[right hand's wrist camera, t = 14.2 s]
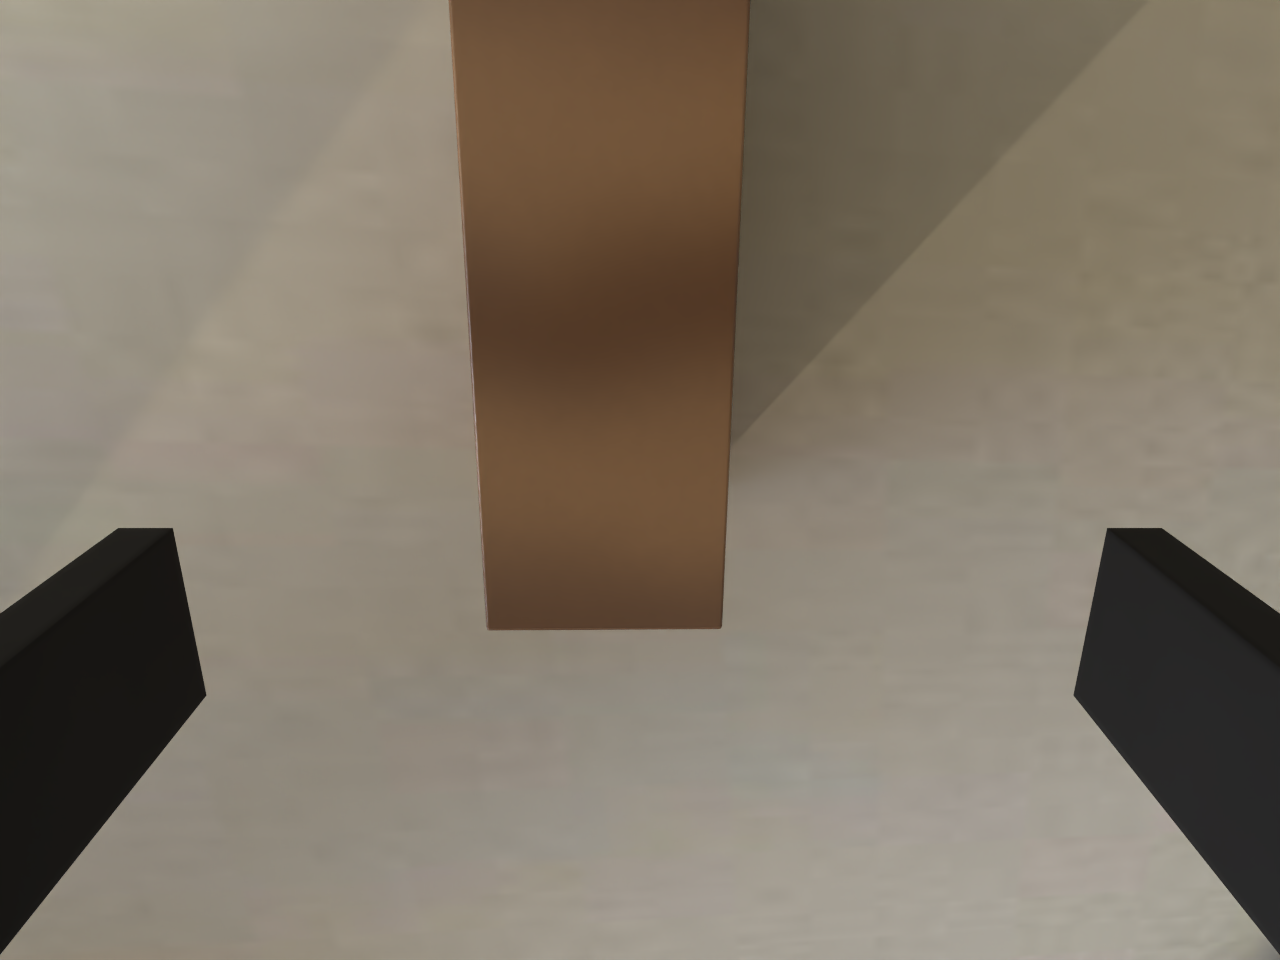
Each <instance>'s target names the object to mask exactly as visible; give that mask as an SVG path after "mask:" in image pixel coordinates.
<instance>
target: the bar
mask: <svg viewBox="0 0 1280 960" xmlns="http://www.w3.org/2000/svg"><path fill="white" fill-rule="evenodd" d="M449 13H450V29H451V46H452V63H453V79H454V96H455V112H456V129H457V146H458V162H459V179H460V195H461V212H462V229H463V245H464V262H465V278H466V295H467V312H468V328H469V345H470V361H471V378H472V395H473V411H474V428H475V444H476V461H477V478H478V494H479V511H480V527H481V544H482V560H483V577H484V594H485V610H486V627H487V629H488V630H615V629H720V628H721V627H722V615H723V593H724V571H725V548H726V526H727V504H728V482H729V460H730V438H731V416H732V394H733V372H734V350H735V328H736V306H737V284H738V262H739V240H740V218H741V196H742V174H743V152H744V130H745V108H746V86H747V64H748V42H749V20H750V0H449Z"/></svg>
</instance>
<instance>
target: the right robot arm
mask: <svg viewBox="0 0 1280 960" xmlns="http://www.w3.org/2000/svg"><path fill="white" fill-rule="evenodd" d="M205 697H206V691H205V686H204V681H203V676H202V671H201V666H200V661H199V656H198V651H197V646H196V641H195V636H194V631H193V626H192V621H191V616H190V611H189V607H188V602H187V597H186V592H185V587H184V582H183V577H182V572H181V567H180V562H179V557H178V552H177V547H176V542H175V537H174V532H173V528H118V529H116V530H115V531H114V532H112V533H111V534H109V535H108V536H107V537H105V538H104V539H103V540H101V541H100V542H98V543H97V544H96V545H94V546H93V547H92V548H90V549H89V550H87V551H86V552H85V553H83V554H82V555H80V556H79V557H78V558H76V559H75V560H74V561H72V562H71V563H69V564H68V565H67V566H65V567H64V568H63V569H61V570H60V571H58V572H57V573H56V574H54V575H53V576H51V577H50V578H49V579H47V580H46V581H45V582H43V583H42V584H40V585H39V586H38V587H36V588H35V589H34V590H32V591H31V592H29V593H28V594H27V595H25V596H24V597H22V598H21V599H20V600H18V601H17V602H16V603H14V604H13V605H11V606H10V607H9V608H7V609H6V610H5V611H3V612H2V613H0V954H1V953H2V952H3V950H4V949H5V948H6V947H7V945H8V944H9V943H10V942H11V940H12V939H13V938H14V937H15V935H16V934H17V933H18V932H19V930H20V929H21V928H22V927H23V925H24V924H25V923H26V922H27V920H28V919H29V918H30V917H31V915H32V914H33V913H34V912H35V910H36V909H37V908H38V906H39V905H40V904H41V903H42V901H43V900H44V899H45V898H46V896H47V895H48V894H49V893H50V891H51V890H52V889H53V888H54V886H55V885H56V884H57V883H58V881H59V880H60V879H61V878H62V876H63V875H64V874H65V873H66V871H67V870H68V869H69V867H70V866H71V865H72V864H73V862H74V861H75V860H76V859H77V857H78V856H79V855H80V854H81V852H82V851H83V850H84V849H85V847H86V846H87V845H88V844H89V842H90V841H91V840H92V839H93V837H94V836H95V835H96V834H97V832H98V831H99V830H100V829H101V827H102V826H103V825H104V823H105V822H106V821H107V820H108V818H109V817H110V816H111V815H112V813H113V812H114V811H115V810H116V808H117V807H118V806H119V805H120V803H121V802H122V801H123V800H124V798H125V797H126V796H127V795H128V793H129V792H130V791H131V790H132V788H133V787H134V786H135V785H136V783H137V782H138V781H139V779H140V778H141V777H142V776H143V774H144V773H145V772H146V771H147V769H148V768H149V767H150V766H151V764H152V763H153V762H154V761H155V759H156V758H157V757H158V756H159V754H160V753H161V752H162V751H163V749H164V748H165V747H166V746H167V744H168V743H169V742H170V741H171V739H172V738H173V737H174V735H175V734H176V733H177V732H178V730H179V729H180V728H181V727H182V725H183V724H184V723H185V722H186V720H187V719H188V718H189V717H190V715H191V714H192V713H193V712H194V710H195V709H196V708H197V707H198V705H199V704H200V703H201V702H202V700H203V699H204V698H205ZM1074 697H1075V698H1076V699H1077V700H1078V702H1079V703H1080V704H1081V705H1082V707H1083V708H1084V709H1085V710H1086V712H1087V713H1088V714H1089V715H1090V717H1091V718H1092V719H1093V720H1094V722H1095V723H1096V724H1097V725H1098V727H1099V728H1100V729H1101V730H1102V732H1103V733H1104V734H1105V735H1106V737H1107V738H1108V739H1109V741H1110V742H1111V743H1112V744H1113V746H1114V747H1115V748H1116V749H1117V751H1118V752H1119V753H1120V754H1121V756H1122V757H1123V758H1124V759H1125V761H1126V762H1127V763H1128V764H1129V766H1130V767H1131V768H1132V769H1133V771H1134V772H1135V773H1136V774H1137V776H1138V777H1139V778H1140V779H1141V781H1142V782H1143V783H1144V785H1145V786H1146V787H1147V788H1148V790H1149V791H1150V792H1151V793H1152V795H1153V796H1154V797H1155V798H1156V800H1157V801H1158V802H1159V803H1160V805H1161V806H1162V807H1163V808H1164V810H1165V811H1166V812H1167V813H1168V815H1169V816H1170V817H1171V818H1172V820H1173V821H1174V822H1175V823H1176V825H1177V826H1178V827H1179V829H1180V830H1181V831H1182V832H1183V834H1184V835H1185V836H1186V837H1187V839H1188V840H1189V841H1190V842H1191V844H1192V845H1193V846H1194V847H1195V849H1196V850H1197V851H1198V852H1199V854H1200V855H1201V856H1202V857H1203V859H1204V860H1205V861H1206V862H1207V864H1208V865H1209V866H1210V867H1211V869H1212V870H1213V871H1214V873H1215V874H1216V875H1217V876H1218V878H1219V879H1220V880H1221V881H1222V883H1223V884H1224V885H1225V886H1226V888H1227V889H1228V890H1229V891H1230V893H1231V894H1232V895H1233V896H1234V898H1235V899H1236V900H1237V901H1238V903H1239V904H1240V905H1241V906H1242V908H1243V909H1244V910H1245V911H1246V913H1247V914H1248V915H1249V917H1250V918H1251V919H1252V920H1253V922H1254V923H1255V924H1256V925H1257V927H1258V928H1259V929H1260V930H1261V932H1262V933H1263V934H1264V935H1265V937H1266V938H1267V939H1268V940H1269V942H1270V943H1271V944H1272V945H1273V947H1274V948H1275V949H1276V950H1277V952H1278V953H1279V954H1280V613H1278V612H1277V611H1275V610H1274V609H1273V608H1271V607H1270V606H1269V605H1267V604H1266V603H1264V602H1263V601H1262V600H1260V599H1259V598H1258V597H1256V596H1255V595H1253V594H1252V593H1251V592H1249V591H1248V590H1246V589H1245V588H1244V587H1242V586H1241V585H1240V584H1238V583H1237V582H1235V581H1234V580H1233V579H1231V578H1230V577H1229V576H1227V575H1226V574H1224V573H1223V572H1222V571H1220V570H1219V569H1217V568H1216V567H1215V566H1213V565H1212V564H1211V563H1209V562H1208V561H1206V560H1205V559H1204V558H1202V557H1201V556H1200V555H1198V554H1197V553H1195V552H1194V551H1193V550H1191V549H1190V548H1188V547H1187V546H1186V545H1184V544H1183V543H1182V542H1180V541H1179V540H1177V539H1176V538H1175V537H1173V536H1172V535H1171V534H1169V533H1168V532H1166V531H1165V530H1164V529H1162V528H1107V532H1106V537H1105V542H1104V547H1103V552H1102V557H1101V562H1100V567H1099V572H1098V577H1097V582H1096V587H1095V592H1094V597H1093V602H1092V607H1091V612H1090V616H1089V621H1088V626H1087V631H1086V636H1085V641H1084V646H1083V651H1082V656H1081V661H1080V666H1079V671H1078V676H1077V681H1076V686H1075V691H1074Z"/></svg>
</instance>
